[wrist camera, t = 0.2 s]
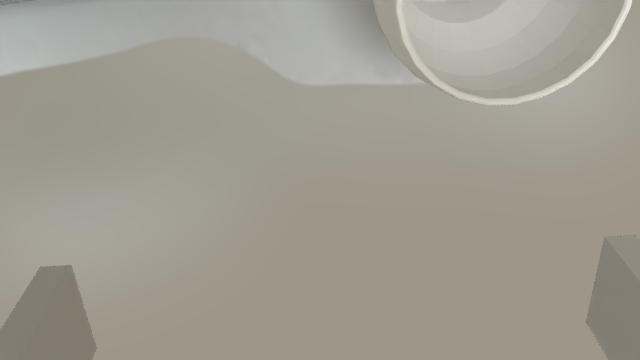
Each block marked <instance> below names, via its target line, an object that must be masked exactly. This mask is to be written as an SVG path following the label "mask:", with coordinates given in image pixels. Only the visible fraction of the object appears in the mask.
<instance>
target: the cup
mask: <svg viewBox="0 0 640 360" xmlns="http://www.w3.org/2000/svg"><path fill="white" fill-rule="evenodd" d="M373 3H374V8H375V12H376V17H377V20H378V22H379V25H380V27H381V29H382V31H383V33H384V35H385V37H386V39H387V40H388V42H389V44H390V46H391V48H392V50H393V52H394V54H395V55H396V57H397V58H398V59H399V60H400V61H401V62H402V63H403V64H404V65H405V66H406V67H407V68H408V69H409V70H410V71H411V72H412V73H413V74H414V75H415V76H416V77H418V78H420V79H421V80H423V81H425V82H427V83H429V84H430V85H432V86H434V87H436V88H437V89H439V90H441V91H443V92H445V93H447V94H450V95H451V96H453V97H456V98H457V99H461V100H465V101H469V102H474V103H478V104H481V105H514V104H518V103H522V102H526V101H530V100H534V99H537V98H542V97H544V96H546V95H548V94H550V93H552V92H554V91H556V90H557V89H560V88H561V87H564V86H566V85H567V84H569V83H571V82H572V81H573V80H574V79H576V78H577V77H578V76H579V75H581V74H582V73H583V72H584V71H586V70H587V69H588V68H589V67H590V66H592V65H593V64H594V63H595V62H596V61H597V60H598V59H599V57H600V56H601V55H602V53H603V52H604V51H605V50H606V49H607V47H608V46H609V45H610V44H611V42H612V41H613V40H614V39H615V37H616V35H617V33H618V32H619V29H620V28H621V26H622V24H623V22H624V19H625V17H626V16H627V14H628V12H629V10H630V8H631V4H632V0H373Z"/></svg>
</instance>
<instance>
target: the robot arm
mask: <svg viewBox="0 0 640 360" xmlns="http://www.w3.org/2000/svg"><path fill="white" fill-rule="evenodd" d="M586 323H587V325H588V326H589V328H590V329H591V331H592V333H593V335H594V336H595V338H596V340H597V341H598V343H599V345H600V346H601V348H602V349H603V351H604V353H605V355H606V356H607V358H608V360H640V239H639V238H638V237H637V236H636V235H625V236H607V237H604V241H603V246H602V251H601V255H600V260H599V265H598V269H597V273H596V278H595V282H594V287H593V292H592V296H591V301H590V305H589V310H588V314H587V319H586ZM96 348H97V347H96V344H95V341H94V338H93V335H92V331H91V328H90V324H89V321H88V318H87V315H86V311H85V308H84V305H83V302H82V298H81V295H80V292H79V289H78V285H77V282H76V279H75V276H74V273H73V269H72V266H71V265H66V266H49V267H40V268H39V270H38V271H37V273H36V275H35V276H34V278H33V279H32V281H31V282H30V284H29V285H28V287H27V289H26V290H25V292H24V293H23V295H22V296H21V298H20V300H19V301H18V303H17V304H16V306H15V308H14V309H13V311H12V312H11V314H10V316H9V317H8V319H7V320H6V322H5V323H4V325H3V327H2V328H1V330H0V360H92V359H93V356H94V354H95V351H96Z"/></svg>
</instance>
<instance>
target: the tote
mask: <svg viewBox="0 0 640 360" xmlns="http://www.w3.org/2000/svg"><path fill="white" fill-rule="evenodd" d="M25 1H32V0H0V5H4V4H11V3H18V2H25Z"/></svg>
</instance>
